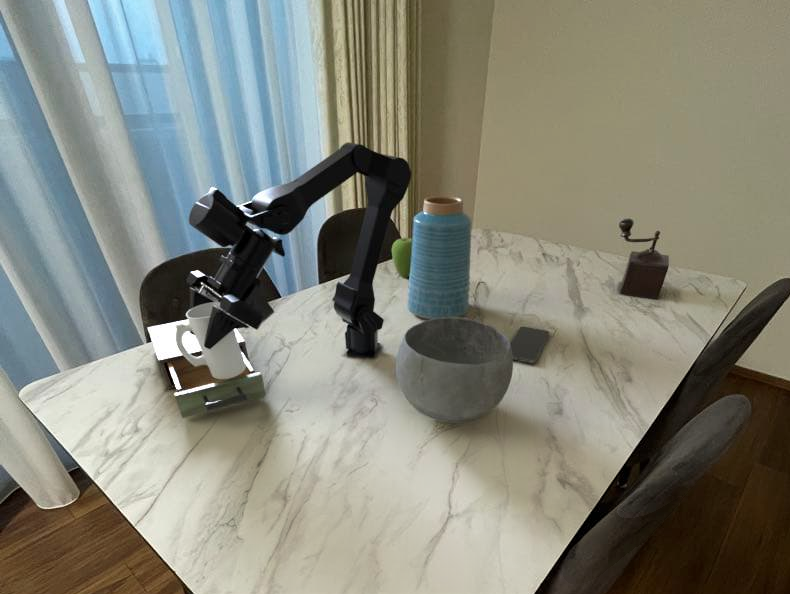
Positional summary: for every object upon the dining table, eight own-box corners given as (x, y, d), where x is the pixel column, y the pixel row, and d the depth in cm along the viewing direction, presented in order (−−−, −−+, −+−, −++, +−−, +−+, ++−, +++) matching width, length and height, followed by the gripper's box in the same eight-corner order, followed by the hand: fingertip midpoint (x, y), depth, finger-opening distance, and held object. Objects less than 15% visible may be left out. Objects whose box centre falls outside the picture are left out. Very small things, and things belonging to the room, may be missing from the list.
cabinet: (251, 369, 101) (244, 341, 96) (168, 389, 94) (158, 360, 90) (231, 338, 112) (225, 312, 108) (156, 354, 105) (147, 327, 101)
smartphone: (502, 354, 104) (520, 325, 116) (502, 358, 105) (519, 329, 116) (535, 361, 102) (550, 330, 113) (534, 365, 103) (549, 334, 114)
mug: (243, 358, 91) (222, 298, 84) (251, 372, 86) (229, 311, 79) (190, 374, 88) (164, 313, 81) (195, 390, 83) (167, 327, 76)
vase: (397, 316, 122) (397, 203, 105) (420, 294, 134) (423, 190, 117) (457, 327, 117) (467, 211, 101) (475, 303, 129) (486, 196, 112)
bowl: (476, 458, 78) (486, 380, 69) (375, 419, 87) (372, 345, 77) (521, 400, 92) (534, 329, 82) (430, 371, 100) (433, 304, 91)
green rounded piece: (419, 281, 142) (420, 241, 135) (391, 280, 142) (391, 241, 135) (418, 271, 149) (419, 232, 142) (392, 271, 149) (392, 232, 142)
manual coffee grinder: (658, 286, 140) (681, 222, 129) (658, 299, 132) (682, 232, 121) (603, 279, 145) (621, 216, 133) (600, 291, 137) (618, 225, 125)
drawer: (272, 406, 88) (268, 384, 85) (186, 431, 82) (178, 408, 79) (244, 361, 101) (239, 341, 98) (168, 379, 95) (161, 358, 92)
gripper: (306, 303, 81) (260, 379, 83) (257, 274, 92) (217, 341, 94) (255, 267, 72) (204, 353, 74) (207, 239, 83) (164, 315, 85)
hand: (199, 341), depth 82 cm, fingers closed on mug, 6 cm apart
